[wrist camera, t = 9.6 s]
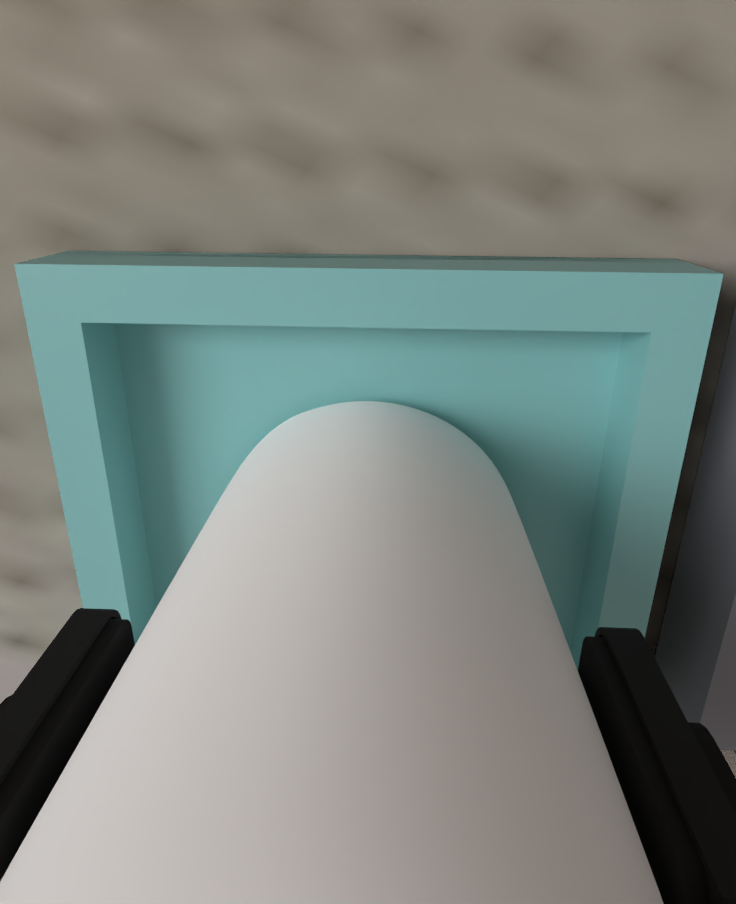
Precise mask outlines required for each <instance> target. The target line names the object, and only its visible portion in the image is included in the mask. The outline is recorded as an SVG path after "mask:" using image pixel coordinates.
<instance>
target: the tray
mask: <svg viewBox="0 0 736 904" xmlns="http://www.w3.org/2000/svg"><path fill="white" fill-rule="evenodd" d="M14 265H15V270H16V275H17V280H18V285H19V290H20V295H21V300H22V305H23V310H24V315H25V320H26V325H27V330H28V335H29V340H30V345H31V350H32V355H33V360H34V365H35V370H36V375H37V380H38V385H39V390H40V395H41V400H42V405H43V410H44V415H45V420H46V425H47V430H48V435H49V440H50V445H51V450H52V455H53V460H54V465H55V470H56V475H57V480H58V485H59V490H60V495H61V500H62V505H63V510H64V515H65V520H66V525H67V530H68V535H69V540H70V545H71V550H72V555H73V560H74V565H75V570H76V575H77V580H78V585H79V590H80V595H81V600H82V605H83V608H89V609H115V610H117V611H118V612H119V613H120V616H121V619H127V620H129V621H130V623H131V626H132V631H133V637H134V643H135V644H136V643H137V641H138V639H139V637H140V636H141V634H142V632H143V630H144V629H145V627H146V625H147V623H148V622H149V620H150V618H151V616H152V615H153V613H154V611H155V609H156V608H157V606H158V604H159V603H160V601H161V599H162V597H163V596H164V594H165V592H166V590H167V589H168V587H169V585H170V584H171V582H172V580H173V578H174V577H175V575H176V573H177V571H178V570H179V568H180V566H181V564H182V563H183V561H184V559H185V558H186V556H187V554H188V552H189V551H190V549H191V547H192V545H193V544H194V542H195V540H196V539H197V537H198V535H199V533H200V532H201V530H202V528H203V527H204V525H205V523H206V521H207V520H208V518H209V516H210V515H211V513H212V511H213V509H214V508H215V506H216V504H217V503H218V501H219V499H220V498H221V496H222V494H223V493H224V491H225V489H226V488H227V486H228V484H229V483H230V481H231V479H232V478H233V476H234V475H235V473H236V472H237V470H238V469H239V467H240V466H241V464H242V463H243V461H244V460H245V459H246V457H247V456H248V455H249V454H250V452H251V451H252V450H253V449H254V448H255V446H256V445H257V444H258V443H259V442H260V441H261V440H262V439H263V438H264V437H265V436H266V435H267V434H269V433H270V432H271V431H272V430H273V429H275V428H276V427H277V426H279V425H280V424H282V423H283V422H285V421H286V420H288V419H290V418H292V417H294V416H296V415H298V414H300V413H303V412H306V411H309V410H312V409H316V408H319V407H323V406H327V405H332V404H337V403H343V402H353V401H378V402H388V403H394V404H400V405H404V406H408V407H412V408H415V409H418V410H421V411H424V412H427V413H429V414H431V415H434V416H436V417H438V418H440V419H442V420H444V421H446V422H447V423H449V424H451V425H452V426H454V427H456V428H457V429H458V430H460V431H461V432H463V433H464V434H465V435H467V436H468V437H469V438H470V439H471V440H473V441H474V442H475V443H476V444H477V445H478V446H479V447H480V448H481V449H482V450H483V451H484V453H485V454H486V455H487V456H488V457H489V459H490V460H491V461H492V462H493V464H494V465H495V467H496V468H497V470H498V471H499V473H500V475H501V476H502V478H503V480H504V482H505V484H506V486H507V488H508V490H509V493H510V495H511V497H512V499H513V502H514V504H515V507H516V509H517V512H518V514H519V517H520V519H521V522H522V525H523V527H524V530H525V532H526V535H527V538H528V540H529V543H530V545H531V548H532V551H533V553H534V556H535V559H536V561H537V564H538V566H539V569H540V572H541V574H542V577H543V580H544V582H545V585H546V588H547V590H548V593H549V596H550V598H551V601H552V604H553V606H554V609H555V612H556V614H557V617H558V620H559V622H560V625H561V628H562V630H563V633H564V636H565V638H566V641H567V644H568V646H569V649H570V652H571V654H572V657H573V660H574V662H575V665H576V668H577V670H578V666H579V661H580V655H581V649H582V643H583V640H584V638H585V637H586V636H592V637H594V636H595V633H596V630H597V629H598V628H599V627H614V628H636V629H638V630H640V632H641V633H642V635H643V636H644V638H645V634H646V629H647V625H648V620H649V616H650V611H651V606H652V602H653V597H654V593H655V588H656V583H657V579H658V574H659V570H660V565H661V560H662V556H663V551H664V547H665V542H666V537H667V533H668V528H669V523H670V519H671V514H672V510H673V505H674V500H675V496H676V491H677V487H678V482H679V477H680V473H681V468H682V464H683V459H684V454H685V450H686V445H687V441H688V436H689V431H690V427H691V422H692V417H693V413H694V408H695V404H696V399H697V394H698V390H699V385H700V381H701V376H702V371H703V367H704V362H705V358H706V353H707V348H708V344H709V339H710V335H711V330H712V325H713V321H714V316H715V311H716V307H717V302H718V298H719V293H720V288H721V284H722V279H723V275H724V274H723V273H720V272H717V271H713V270H710V269H707V268H704V267H701V266H698V265H694V264H691V263H688V262H685V261H682V260H679V259H648V258H572V257H496V256H420V255H344V254H268V253H192V252H116V251H66V252H62V253H57V254H53V255H49V256H45V257H41V258H37V259H32V260H28V261H24V262H20V263H16V264H14Z"/></svg>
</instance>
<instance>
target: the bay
mask: <svg viewBox="0 0 736 904" xmlns="http://www.w3.org/2000/svg"><path fill="white" fill-rule="evenodd" d="M655 660H656V662H657V663H658V665H659V667H660V669H661V671H662V673H663V675H664V677H665V679H666V681H667V683H668V685H669V687H670V689H671V690H672V692H673V694H674V696H675V698H676V700H677V702H678V704H679V706H680V708H681V710H682V712H683V714H684V716H685V717H686V719H687V721H688V722H693V723H701V724H702V725H703V726H705V727H706V728H707V729H708V731H709V732H710V734H711V735H712V736H713V738H714V740H715V742H716V743H717V745H718V747H719V749H721V750H734V752H735V754H736V303H735V307H734V311H733V316H732V320H731V325H730V329H729V333H728V338H727V342H726V347H725V351H724V355H723V360H722V364H721V369H720V373H719V377H718V382H717V386H716V390H715V395H714V399H713V404H712V408H711V412H710V417H709V421H708V426H707V430H706V434H705V439H704V443H703V448H702V452H701V456H700V461H699V465H698V469H697V474H696V478H695V483H694V487H693V491H692V496H691V500H690V505H689V509H688V513H687V518H686V522H685V527H684V531H683V535H682V540H681V544H680V548H679V553H678V557H677V562H676V566H675V570H674V575H673V579H672V584H671V588H670V592H669V597H668V601H667V606H666V610H665V614H664V619H663V623H662V628H661V632H660V636H659V641H658V645H657V649H656V654H655Z"/></svg>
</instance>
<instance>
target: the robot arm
mask: <svg viewBox="0 0 736 904" xmlns="http://www.w3.org/2000/svg"><path fill="white" fill-rule="evenodd" d="M134 646H135V643H134V637H133V631H132V626H131V623H130V621H129V620H127V619H121V616H120V613H119V612H118V611H117V610H115V609H89V608H80V609H77V610H76V611H75V612H74V613H73V614H72V616H71V617H70V618H69V620H68V621H67V622H66V624H65V625H64V626H63V628H62V629H61V630H60V632H59V633H58V634H57V636H56V637H55V639H54V640H53V641H52V643H51V644H50V645H49V647H48V648H47V649H46V651H45V652H44V653H43V655H42V656H41V657H40V659H39V660H38V661H37V663H36V664H35V665H34V667H33V668H32V670H31V671H30V672H29V674H28V675H27V676H26V678H25V679H24V680H23V682H22V683H21V684H20V686H19V687H18V688H17V690H16V691H15V692H14V694H13V695H11V696H9V697H7V698H6V699H5V700H4V701H3V702H2V703H1V704H0V881H1V879H2V878H3V876H4V874H5V872H6V871H7V869H8V867H9V865H10V863H11V862H12V860H13V858H14V856H15V855H16V853H17V851H18V849H19V847H20V846H21V844H22V842H23V840H24V839H25V837H26V835H27V833H28V831H29V830H30V828H31V826H32V824H33V823H34V821H35V819H36V817H37V816H38V814H39V812H40V810H41V809H42V807H43V805H44V803H45V802H46V800H47V798H48V796H49V795H50V793H51V791H52V789H53V788H54V786H55V784H56V782H57V781H58V779H59V777H60V775H61V774H62V772H63V770H64V768H65V767H66V765H67V763H68V761H69V760H70V758H71V756H72V754H73V753H74V751H75V749H76V747H77V746H78V744H79V742H80V740H81V739H82V737H83V735H84V733H85V732H86V730H87V728H88V726H89V725H90V723H91V721H92V719H93V717H94V716H95V714H96V712H97V710H98V709H99V707H100V705H101V703H102V702H103V700H104V698H105V697H106V695H107V693H108V691H109V690H110V688H111V686H112V684H113V683H114V681H115V679H116V677H117V676H118V674H119V672H120V670H121V669H122V667H123V665H124V663H125V662H126V660H127V658H128V656H129V655H130V653H131V651H132V650H133V648H134ZM578 673H579V676H580V679H581V681H582V684H583V687H584V689H585V692H586V695H587V697H588V700H589V703H590V705H591V708H592V711H593V713H594V716H595V719H596V721H597V724H598V727H599V730H600V732H601V735H602V738H603V740H604V743H605V746H606V748H607V751H608V754H609V756H610V759H611V762H612V765H613V767H614V770H615V773H616V775H617V778H618V781H619V784H620V786H621V789H622V792H623V794H624V797H625V800H626V803H627V805H628V808H629V811H630V813H631V816H632V819H633V822H634V824H635V827H636V830H637V832H638V835H639V838H640V840H641V843H642V846H643V849H644V851H645V854H646V857H647V859H648V862H649V865H650V868H651V870H652V873H653V876H654V878H655V881H656V884H657V887H658V889H659V892H660V895H661V898H662V900H663V903H664V904H736V778H735V776H734V774H733V773H732V771H731V769H730V767H729V765H728V764H727V762H726V760H725V758H724V756H723V754H722V753H721V751H720V749H719V747H718V745H717V743H716V742H715V740H714V738H713V736H712V735H711V734H710V732H709V731H708V729H707V728H706V727H705V726H703V725H702V724H701V723H693V722H688V721H687V719H686V717H685V716H684V714H683V712H682V710H681V708H680V706H679V704H678V702H677V700H676V698H675V696H674V694H673V692H672V690H671V689H670V687H669V685H668V683H667V681H666V679H665V677H664V675H663V673H662V671H661V669H660V667H659V665H658V663H657V662H656V660H655V658H654V656H653V654H652V652H651V650H650V648H649V646H648V644H647V642H646V640H645V638H644V636H643V635H642V633H641V632H640V630H638V629H636V628H614V627H599V628H598V629H597V630H596V633H595V636H594V637H592V636H586V637H585V638H584V640H583V643H582V649H581V655H580V661H579V666H578Z"/></svg>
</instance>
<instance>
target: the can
mask: <svg viewBox="0 0 736 904" xmlns="http://www.w3.org/2000/svg"><path fill="white" fill-rule="evenodd" d="M0 904H664V903H663V900H662V898H661V895H660V892H659V889H658V887H657V884H656V881H655V878H654V876H653V873H652V870H651V868H650V865H649V862H648V859H647V857H646V854H645V851H644V849H643V846H642V843H641V840H640V838H639V835H638V832H637V830H636V827H635V824H634V822H633V819H632V816H631V813H630V811H629V808H628V805H627V803H626V800H625V797H624V794H623V792H622V789H621V786H620V784H619V781H618V778H617V775H616V773H615V770H614V767H613V765H612V762H611V759H610V756H609V754H608V751H607V748H606V746H605V743H604V740H603V738H602V735H601V732H600V730H599V727H598V724H597V721H596V719H595V716H594V713H593V711H592V708H591V705H590V703H589V700H588V697H587V695H586V692H585V689H584V687H583V684H582V681H581V679H580V676H579V673H578V670H577V668H576V665H575V662H574V660H573V657H572V654H571V652H570V649H569V646H568V644H567V641H566V638H565V636H564V633H563V630H562V628H561V625H560V622H559V620H558V617H557V614H556V612H555V609H554V606H553V604H552V601H551V598H550V596H549V593H548V590H547V588H546V585H545V582H544V580H543V577H542V574H541V572H540V569H539V566H538V564H537V561H536V559H535V556H534V553H533V551H532V548H531V545H530V543H529V540H528V538H527V535H526V532H525V530H524V527H523V525H522V522H521V519H520V517H519V514H518V512H517V509H516V507H515V504H514V502H513V499H512V497H511V495H510V493H509V490H508V488H507V486H506V484H505V482H504V480H503V478H502V476H501V475H500V473H499V471H498V470H497V468H496V467H495V465H494V464H493V462H492V461H491V460H490V459H489V457H488V456H487V455H486V454H485V453H484V451H483V450H482V449H481V448H480V447H479V446H478V445H477V444H476V443H475V442H474V441H473V440H471V439H470V438H469V437H468V436H467V435H465V434H464V433H463V432H461V431H460V430H458V429H457V428H456V427H454V426H452V425H451V424H449V423H447V422H446V421H444V420H442V419H440V418H438V417H436V416H434V415H431V414H429V413H427V412H424V411H421V410H418V409H415V408H412V407H408V406H404V405H400V404H394V403H388V402H378V401H353V402H343V403H337V404H332V405H327V406H323V407H319V408H316V409H312V410H309V411H306V412H303V413H300V414H298V415H296V416H294V417H292V418H290V419H288V420H286V421H285V422H283V423H282V424H280V425H279V426H277V427H276V428H275V429H273V430H272V431H271V432H270V433H269V434H267V435H266V436H265V437H264V438H263V439H262V440H261V441H260V442H259V443H258V444H257V445H256V446H255V448H254V449H253V450H252V451H251V452H250V454H249V455H248V456H247V457H246V459H245V460H244V461H243V463H242V464H241V466H240V467H239V469H238V470H237V472H236V473H235V475H234V476H233V478H232V479H231V481H230V483H229V484H228V486H227V488H226V489H225V491H224V493H223V494H222V496H221V498H220V499H219V501H218V503H217V504H216V506H215V508H214V509H213V511H212V513H211V515H210V516H209V518H208V520H207V521H206V523H205V525H204V527H203V528H202V530H201V532H200V533H199V535H198V537H197V539H196V540H195V542H194V544H193V545H192V547H191V549H190V551H189V552H188V554H187V556H186V558H185V559H184V561H183V563H182V564H181V566H180V568H179V570H178V571H177V573H176V575H175V577H174V578H173V580H172V582H171V584H170V585H169V587H168V589H167V590H166V592H165V594H164V596H163V597H162V599H161V601H160V603H159V604H158V606H157V608H156V609H155V611H154V613H153V615H152V616H151V618H150V620H149V622H148V623H147V625H146V627H145V629H144V630H143V632H142V634H141V636H140V637H139V639H138V641H137V643H136V644H135V646H134V648H133V650H132V651H131V653H130V655H129V656H128V658H127V660H126V662H125V663H124V665H123V667H122V669H121V670H120V672H119V674H118V676H117V677H116V679H115V681H114V683H113V684H112V686H111V688H110V690H109V691H108V693H107V695H106V697H105V698H104V700H103V702H102V703H101V705H100V707H99V709H98V710H97V712H96V714H95V716H94V717H93V719H92V721H91V723H90V725H89V726H88V728H87V730H86V732H85V733H84V735H83V737H82V739H81V740H80V742H79V744H78V746H77V747H76V749H75V751H74V753H73V754H72V756H71V758H70V760H69V761H68V763H67V765H66V767H65V768H64V770H63V772H62V774H61V775H60V777H59V779H58V781H57V782H56V784H55V786H54V788H53V789H52V791H51V793H50V795H49V796H48V798H47V800H46V802H45V803H44V805H43V807H42V809H41V810H40V812H39V814H38V816H37V817H36V819H35V821H34V823H33V824H32V826H31V828H30V830H29V831H28V833H27V835H26V837H25V839H24V840H23V842H22V844H21V846H20V847H19V849H18V851H17V853H16V855H15V856H14V858H13V860H12V862H11V863H10V865H9V867H8V869H7V871H6V872H5V874H4V876H3V878H2V879H1V881H0Z"/></svg>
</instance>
